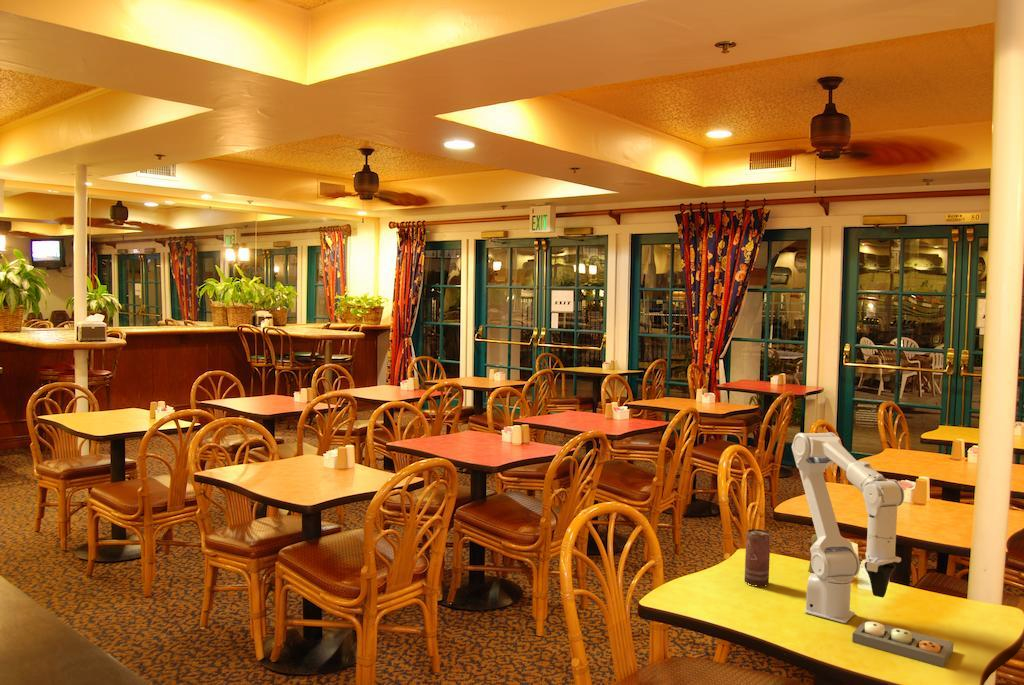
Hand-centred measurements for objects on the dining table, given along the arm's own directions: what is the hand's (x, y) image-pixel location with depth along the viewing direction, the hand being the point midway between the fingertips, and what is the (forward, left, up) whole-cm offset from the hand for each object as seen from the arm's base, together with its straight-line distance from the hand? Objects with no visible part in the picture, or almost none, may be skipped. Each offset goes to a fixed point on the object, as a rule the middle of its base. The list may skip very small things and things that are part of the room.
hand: (878, 595), depth 172 cm
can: (-34, +17, -11) cm, 40 cm away
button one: (-1, 0, -9) cm, 9 cm away
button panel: (+5, +1, -10) cm, 11 cm away
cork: (-24, +37, -11) cm, 45 cm away
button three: (+10, 0, -10) cm, 15 cm away
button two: (+5, 0, -9) cm, 10 cm away
